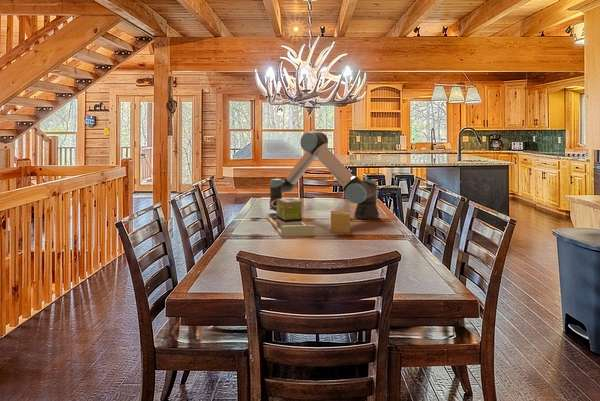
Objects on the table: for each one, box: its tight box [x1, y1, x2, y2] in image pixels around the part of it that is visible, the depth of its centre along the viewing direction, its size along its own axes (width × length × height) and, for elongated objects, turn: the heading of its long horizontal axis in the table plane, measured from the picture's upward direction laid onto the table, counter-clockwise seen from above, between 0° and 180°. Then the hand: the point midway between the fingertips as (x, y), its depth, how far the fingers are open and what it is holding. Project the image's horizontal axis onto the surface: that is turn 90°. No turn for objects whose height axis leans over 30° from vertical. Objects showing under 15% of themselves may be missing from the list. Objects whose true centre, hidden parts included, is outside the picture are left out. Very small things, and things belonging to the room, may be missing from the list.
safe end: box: [276, 224, 316, 237], centre depth 262 cm, size 17×14×5 cm
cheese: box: [330, 210, 351, 234], centre depth 269 cm, size 10×11×10 cm
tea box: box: [276, 197, 303, 227], centre depth 283 cm, size 15×10×15 cm
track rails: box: [267, 217, 307, 231], centre depth 287 cm, size 17×38×2 cm, turn 11°
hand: (284, 210), depth 297 cm, fingers closed
